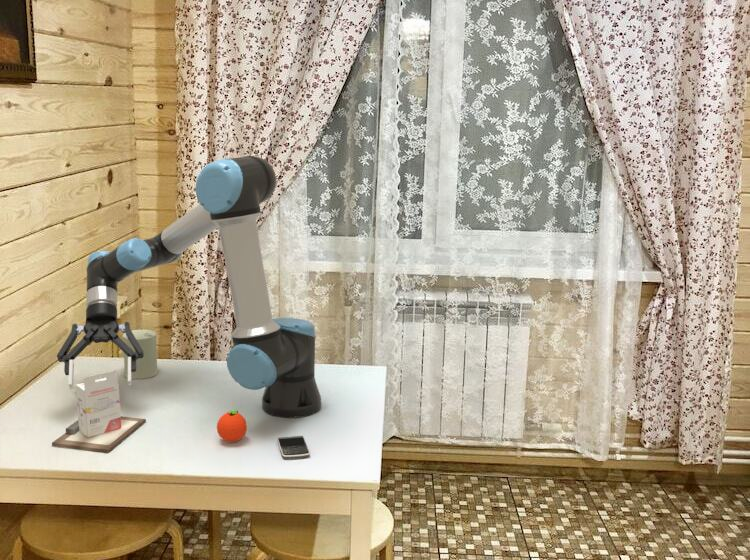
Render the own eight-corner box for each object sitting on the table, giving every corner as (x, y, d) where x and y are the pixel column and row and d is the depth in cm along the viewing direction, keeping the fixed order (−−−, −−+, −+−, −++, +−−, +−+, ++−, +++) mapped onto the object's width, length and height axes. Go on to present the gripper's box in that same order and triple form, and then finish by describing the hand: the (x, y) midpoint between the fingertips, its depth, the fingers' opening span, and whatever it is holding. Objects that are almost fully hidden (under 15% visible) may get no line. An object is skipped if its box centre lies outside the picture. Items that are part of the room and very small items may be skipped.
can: (149, 380, 238) (147, 338, 235) (118, 377, 240) (116, 336, 237) (163, 369, 247) (162, 329, 244) (133, 366, 249) (131, 326, 246)
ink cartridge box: (112, 422, 208) (109, 364, 204) (121, 428, 204) (119, 369, 201) (77, 431, 202) (74, 371, 199) (87, 438, 198) (83, 377, 195)
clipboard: (145, 422, 210) (145, 413, 210) (108, 453, 193) (108, 443, 193) (93, 416, 213) (92, 407, 213) (52, 446, 196) (51, 437, 196)
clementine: (224, 431, 206) (224, 403, 205) (252, 434, 205) (252, 406, 203) (212, 445, 199) (212, 416, 197) (241, 448, 197) (241, 419, 196)
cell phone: (283, 462, 192) (283, 456, 192) (276, 441, 202) (276, 436, 202) (310, 460, 194) (310, 454, 193) (302, 439, 204) (302, 434, 204)
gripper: (153, 313, 225) (154, 388, 215) (51, 317, 220) (47, 394, 209) (152, 299, 219) (153, 375, 208) (47, 302, 213) (43, 381, 203)
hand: (100, 385), depth 209 cm, fingers open, 13 cm apart
